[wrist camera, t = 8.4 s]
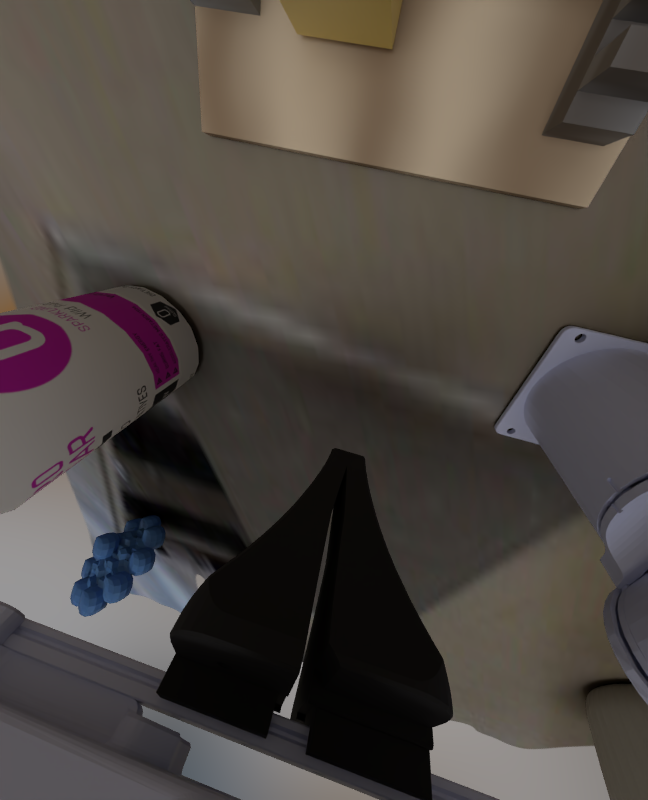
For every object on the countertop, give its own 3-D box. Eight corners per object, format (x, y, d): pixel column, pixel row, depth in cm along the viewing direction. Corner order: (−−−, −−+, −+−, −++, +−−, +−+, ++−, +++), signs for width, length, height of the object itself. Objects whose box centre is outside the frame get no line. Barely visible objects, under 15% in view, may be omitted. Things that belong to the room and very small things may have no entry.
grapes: (164, 491, 35) (74, 596, 25) (195, 524, 38) (125, 630, 28) (110, 500, 40) (15, 591, 30) (142, 529, 42) (64, 621, 33)
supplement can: (108, 264, 20) (-354, 326, 8) (211, 314, 20) (-74, 451, 8) (114, 355, 25) (-170, 486, 12) (198, 395, 25) (4, 561, 13)
